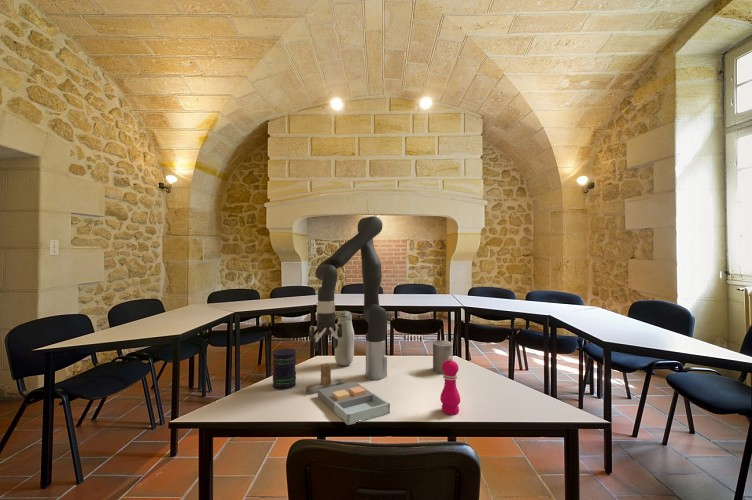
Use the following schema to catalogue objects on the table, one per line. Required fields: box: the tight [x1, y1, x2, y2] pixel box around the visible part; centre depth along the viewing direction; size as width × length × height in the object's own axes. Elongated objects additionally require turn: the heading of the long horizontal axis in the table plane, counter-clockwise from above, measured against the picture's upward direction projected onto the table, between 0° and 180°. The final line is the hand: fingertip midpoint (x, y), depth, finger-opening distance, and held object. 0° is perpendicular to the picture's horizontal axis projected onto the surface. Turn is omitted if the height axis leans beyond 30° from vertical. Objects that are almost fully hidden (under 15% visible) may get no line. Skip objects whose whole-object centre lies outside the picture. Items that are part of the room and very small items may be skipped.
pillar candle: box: [432, 340, 454, 375], centre depth 171 cm, size 10×10×15 cm
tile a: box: [349, 385, 366, 397], centre depth 136 cm, size 5×5×2 cm
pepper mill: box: [439, 356, 461, 416], centre depth 127 cm, size 7×7×20 cm
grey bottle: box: [334, 310, 355, 367], centre depth 180 cm, size 10×10×28 cm
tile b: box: [333, 390, 350, 401], centre depth 132 cm, size 5×5×2 cm
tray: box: [333, 392, 391, 426], centre depth 125 cm, size 17×11×4 cm, turn 121°
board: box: [317, 381, 374, 413], centre depth 137 cm, size 17×16×3 cm
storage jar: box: [272, 348, 297, 391], centre depth 152 cm, size 10×10×15 cm
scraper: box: [305, 362, 346, 395], centre depth 148 cm, size 16×4×10 cm, turn 121°
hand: (325, 349), depth 148 cm, fingers open, 8 cm apart
